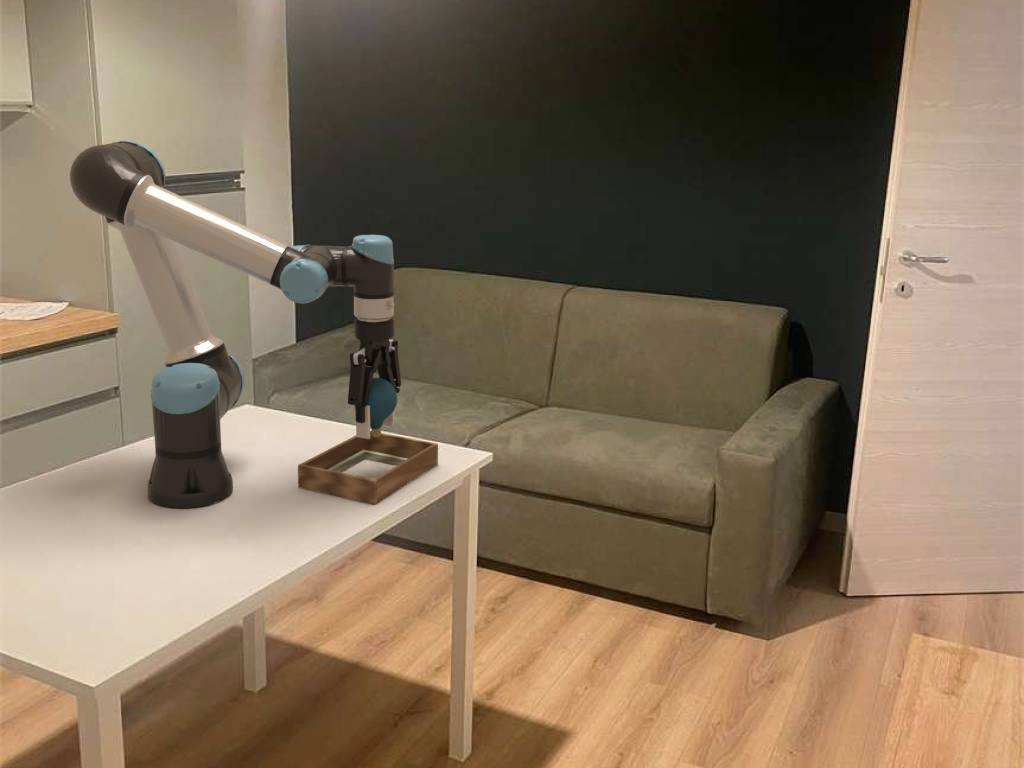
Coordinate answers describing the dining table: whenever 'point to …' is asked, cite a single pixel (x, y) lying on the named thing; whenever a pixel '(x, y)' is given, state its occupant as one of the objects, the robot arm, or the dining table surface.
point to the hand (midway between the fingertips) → (375, 430)
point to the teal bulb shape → (380, 403)
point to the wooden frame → (386, 448)
